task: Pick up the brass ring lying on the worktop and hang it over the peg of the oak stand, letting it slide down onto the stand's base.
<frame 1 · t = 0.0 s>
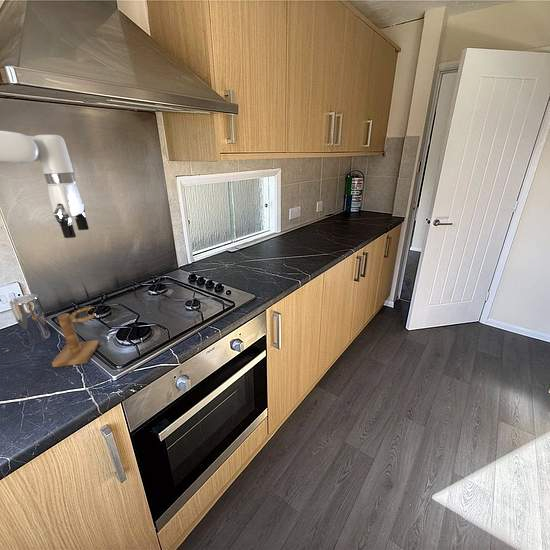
hand: (77, 233, 97), 30 cm above the worktop, tool pointing down, fingers open, 9 cm apart
beer glass: (41, 341, 93), on the worktop
ring: (84, 314, 106), point 1 cm above the worktop
stand: (77, 354, 86), on the worktop
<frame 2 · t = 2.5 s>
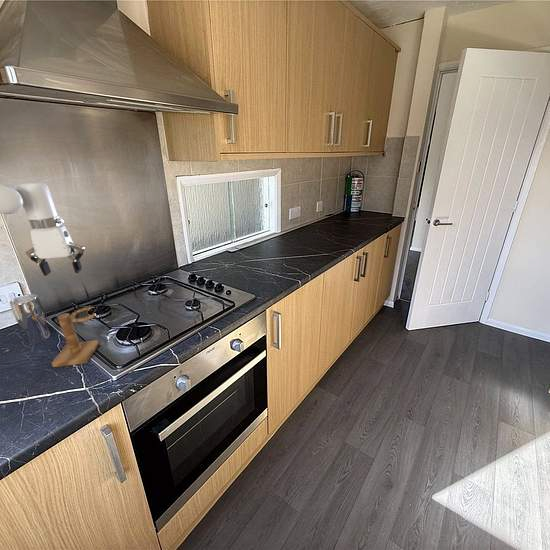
hand: (63, 272, 99), 17 cm above the worktop, tool pointing down, fingers open, 9 cm apart
nothing on the worktop moved.
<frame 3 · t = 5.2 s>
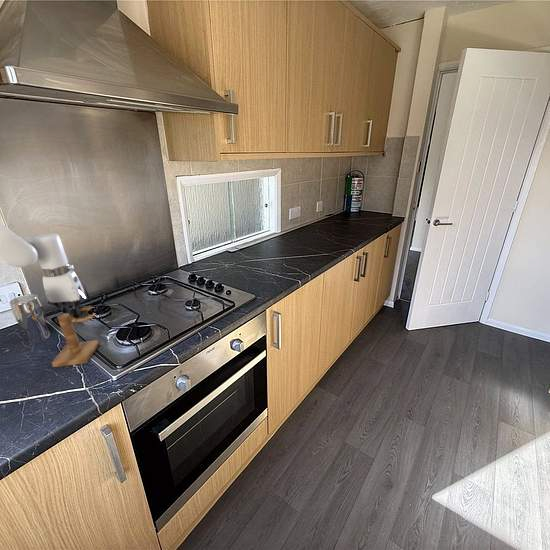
hand: (73, 316, 105), 0 cm above the worktop, tool pointing down, fingers closed on ring, 2 cm apart
ring: (84, 314, 106), point 1 cm above the worktop, touching gripper
everything else where it was.
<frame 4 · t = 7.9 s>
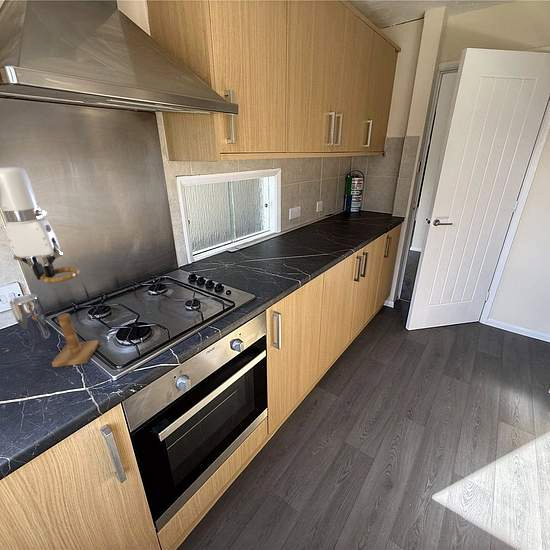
hand: (46, 277, 87), 21 cm above the worktop, tool pointing down, fingers closed on ring
ring: (60, 274, 87), point 21 cm above the worktop, touching gripper
everything else where it was.
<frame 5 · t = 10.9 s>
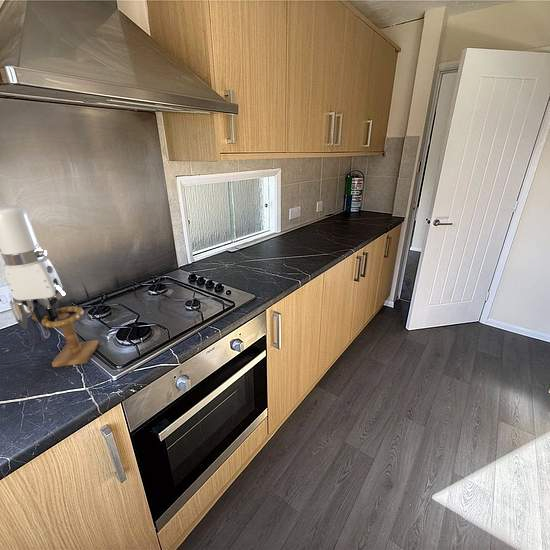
hand: (48, 319, 80), 13 cm above the worktop, tool pointing down, fingers closed on ring
ring: (63, 316, 81), point 13 cm above the worktop, touching gripper
everything else where it was.
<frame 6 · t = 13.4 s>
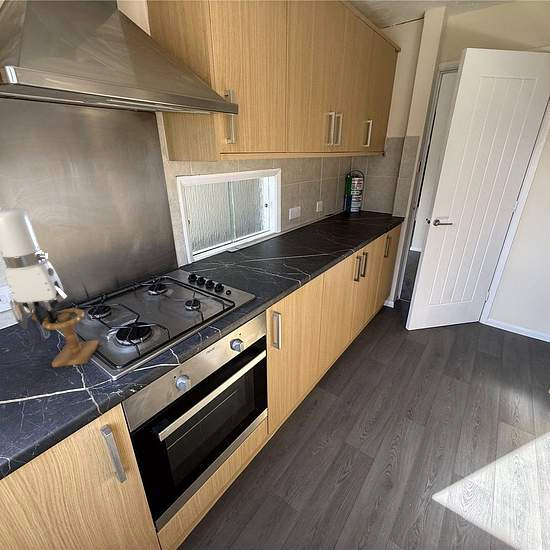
hand: (49, 321, 81), 12 cm above the worktop, tool pointing down, fingers closed on ring
ring: (64, 318, 81), point 13 cm above the worktop, touching gripper
everything else where it was.
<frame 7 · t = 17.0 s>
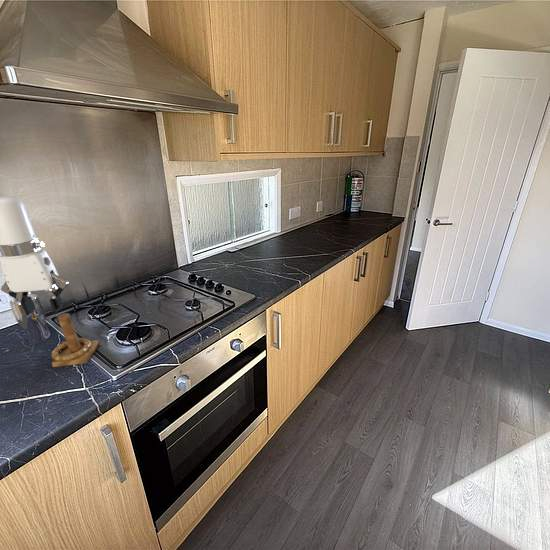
hand: (44, 310, 79), 16 cm above the worktop, tool pointing down, fingers open, 6 cm apart
ring: (71, 349, 85), point 2 cm above the worktop, touching stand
everything else where it was.
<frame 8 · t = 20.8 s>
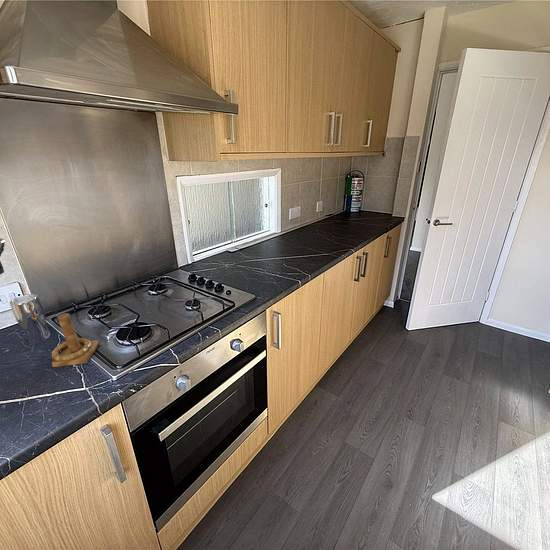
nothing on the worktop moved.
at the end: ring 0.9 cm from the stand (horizontally); ring point 2.3 cm above the worktop; the gripper is holding nothing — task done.
